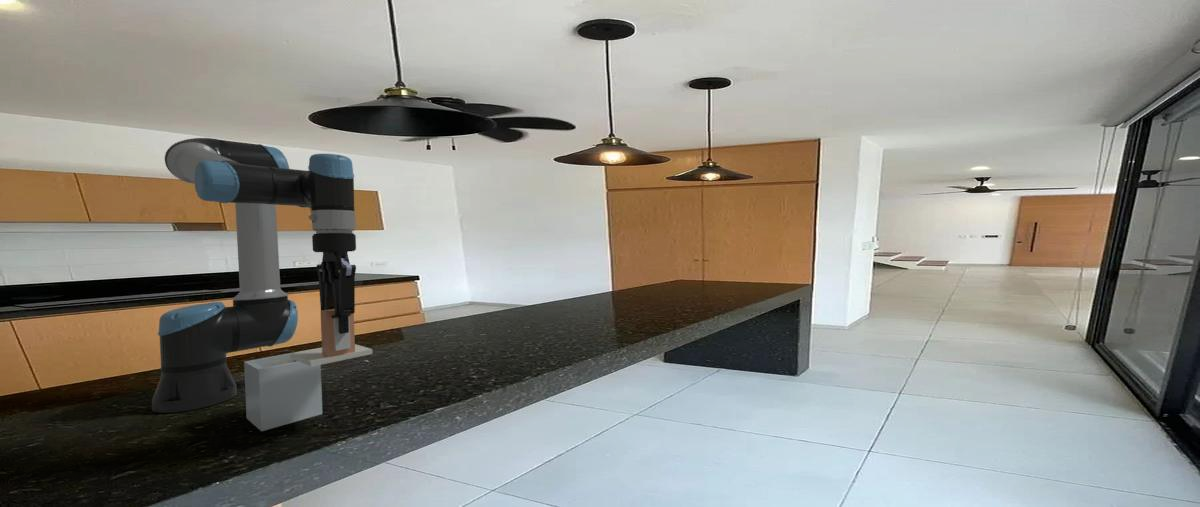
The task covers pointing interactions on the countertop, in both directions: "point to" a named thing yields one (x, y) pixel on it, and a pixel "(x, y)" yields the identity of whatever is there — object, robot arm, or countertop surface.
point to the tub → (281, 391)
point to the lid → (330, 345)
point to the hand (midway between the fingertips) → (338, 347)
